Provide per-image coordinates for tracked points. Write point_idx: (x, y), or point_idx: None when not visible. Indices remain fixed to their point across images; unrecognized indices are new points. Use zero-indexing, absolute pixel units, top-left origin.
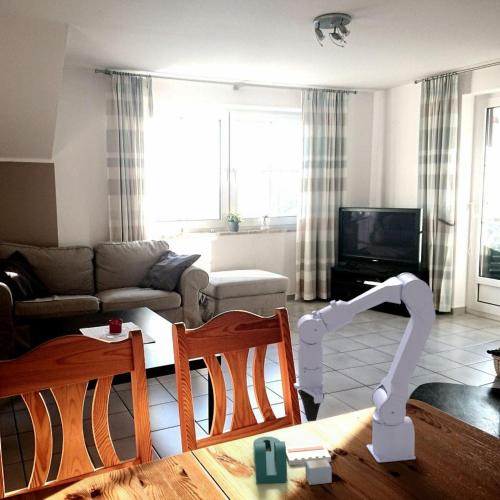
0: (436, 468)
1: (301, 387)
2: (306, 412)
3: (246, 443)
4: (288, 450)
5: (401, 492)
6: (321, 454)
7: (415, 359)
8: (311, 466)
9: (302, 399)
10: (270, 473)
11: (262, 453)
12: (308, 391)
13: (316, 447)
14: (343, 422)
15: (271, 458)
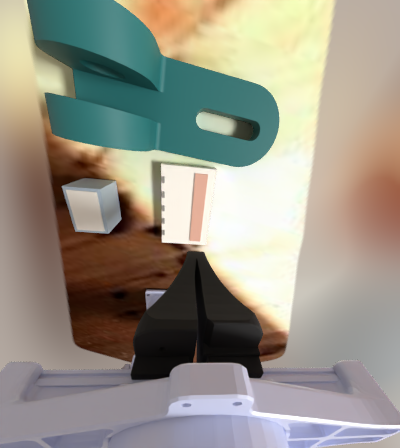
0: (127, 329)
1: (147, 409)
2: (181, 268)
3: (295, 80)
4: (201, 175)
5: (72, 287)
6: (172, 230)
7: None
8: (72, 194)
9: (185, 303)
10: (83, 85)
11: (31, 20)
12: (49, 424)
13: (197, 230)
14: (272, 288)
15: (161, 115)
